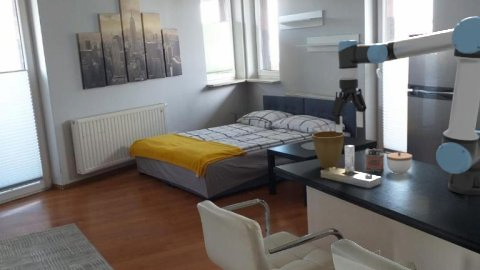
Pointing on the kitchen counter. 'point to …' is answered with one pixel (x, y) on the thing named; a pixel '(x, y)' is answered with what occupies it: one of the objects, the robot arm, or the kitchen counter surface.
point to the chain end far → (335, 173)
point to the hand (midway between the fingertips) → (349, 129)
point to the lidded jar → (399, 162)
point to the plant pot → (328, 147)
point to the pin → (349, 160)
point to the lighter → (374, 160)
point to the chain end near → (363, 180)
